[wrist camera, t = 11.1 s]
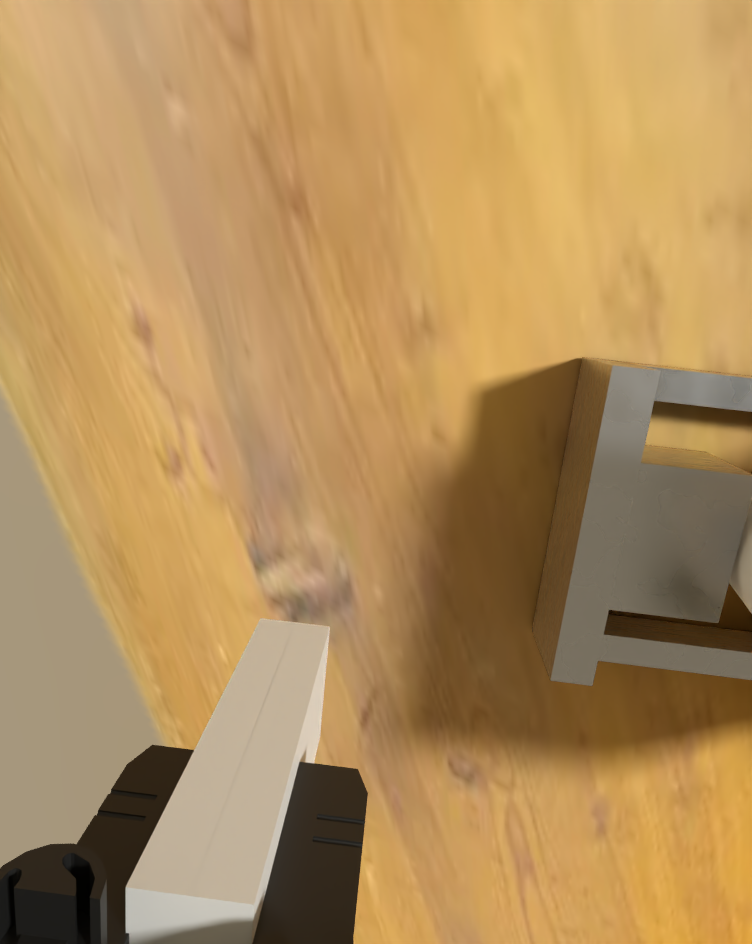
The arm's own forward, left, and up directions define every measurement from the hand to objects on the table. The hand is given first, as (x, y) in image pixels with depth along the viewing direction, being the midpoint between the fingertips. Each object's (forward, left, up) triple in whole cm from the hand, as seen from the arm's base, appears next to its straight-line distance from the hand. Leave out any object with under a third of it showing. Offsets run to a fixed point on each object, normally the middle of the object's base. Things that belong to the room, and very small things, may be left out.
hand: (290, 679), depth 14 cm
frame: (+1, +18, -21) cm, 27 cm away
